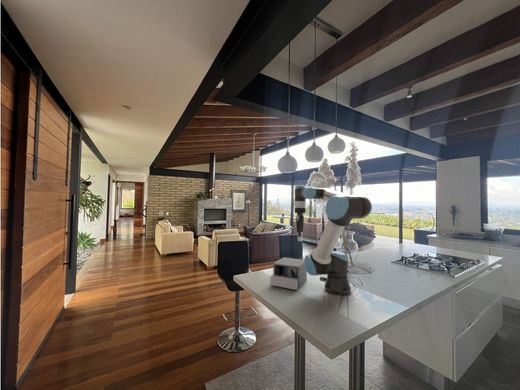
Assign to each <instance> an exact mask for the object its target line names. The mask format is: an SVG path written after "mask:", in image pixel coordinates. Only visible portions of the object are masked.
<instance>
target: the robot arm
mask: <svg viewBox="0 0 520 390" xmlns="http://www.w3.org/2000/svg"><path fill="white" fill-rule="evenodd" d="M306 200H324V201H326V205H325V215H326V218H327V222H326V225H325V227H324V230H323V231H322V234H321V236H320V238H319V241H318V242H317V245H316V247H315V248H314V249H313V250H312V251H311V253H310V254H307V255H305V256H304V259H303V260H304V263H305V268H306V270H307V275H310V276H322V275H323V276H325V275H327V277H326V280H325V282H324V290H325V291H326V292H328V293H329V294H332V295H337V296H348V295H350V294H351V292H352V287H351V284H350V281H349V279H348V278H349V277H348V276H349V275H348V271H349V270H348V268H349V267H348V262H349V261H348V260H349V259H348V255H347V254H346V253H345V252H341V251H336V250H334V249H335V248H336V245H337V243H338V241H339V240H340V237H341V235H342V233H343V231H344V229H345V228H346V227H348V226H349V225H350V224H351V222H352V220H360V219H364V218H366V217H367V216H369V215H370V213H372V210H373V209H372V208H373V205H372V202H371V201H370V199H369V198H367V197H366V196H363V195H362V196H361V195H359V194H358V195H350V194H348V193H343V192H340V191H336V190H333V189H332V188H329V187H311V186H307V187H306V185H301V184H300V185H295V186H294V203H293V204H294V214H296V217H295V224H296V225H295V226H296V232H297V241H298V242H303V232H304V224H305V217H304V214H305V213H306V204H307V203H306Z"/></svg>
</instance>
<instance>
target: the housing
mask: <svg viewBox="0 0 520 390" xmlns="http://www.w3.org/2000/svg"><path fill="white" fill-rule="evenodd" d="M283 266H286V267H293V268H297V279H298V288H297V289H296V290H299V289H300V288H301V287H302V286H303V285H304V283H306V282H307V280H308V276H307V275H308V272H307V270H306V268H305V263H304V259H300V258H292V257H291V258H290V257H282V258H280V259H278V260H276V261H275V262H273V266H272V267H273V271H272V272H273V273H272V275H277V276H281V275H282V267H283Z"/></svg>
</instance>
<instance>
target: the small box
mask: <svg viewBox="0 0 520 390" xmlns="http://www.w3.org/2000/svg"><path fill="white" fill-rule="evenodd" d="M282 276H283V277H289V278H294V279H297V268H293V267H286V266H283V267H282Z"/></svg>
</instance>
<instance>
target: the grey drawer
mask: <svg viewBox="0 0 520 390" xmlns="http://www.w3.org/2000/svg"><path fill="white" fill-rule="evenodd" d="M270 286H275V287H280V288H283V289H284V288H285V289H289V290H290V289H291V290H295V291H296V290H298V289H297V288H298V279H294V278H289V277H283V276H282V275H281V276H277V275H273V274H272V275H270Z"/></svg>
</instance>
